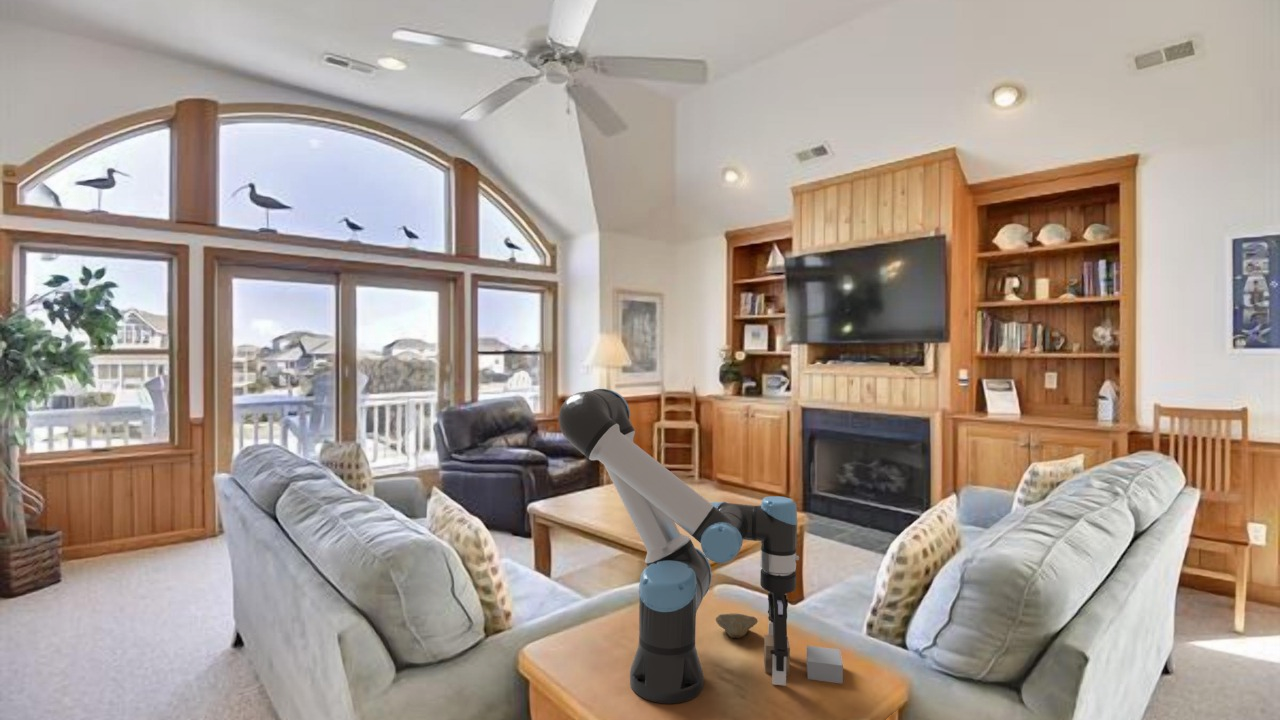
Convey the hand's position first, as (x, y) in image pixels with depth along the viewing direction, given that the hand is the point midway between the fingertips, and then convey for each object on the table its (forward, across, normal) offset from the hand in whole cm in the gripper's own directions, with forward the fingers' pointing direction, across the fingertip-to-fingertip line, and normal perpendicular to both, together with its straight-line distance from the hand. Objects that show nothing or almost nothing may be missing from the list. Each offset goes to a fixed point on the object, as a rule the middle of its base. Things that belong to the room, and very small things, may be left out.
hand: (776, 667), depth 130 cm
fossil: (0, +14, +8) cm, 16 cm away
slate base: (0, 0, -10) cm, 10 cm away
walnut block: (0, 0, 0) cm, 0 cm away
